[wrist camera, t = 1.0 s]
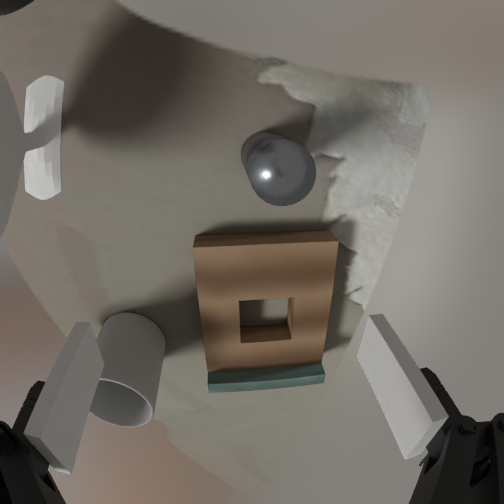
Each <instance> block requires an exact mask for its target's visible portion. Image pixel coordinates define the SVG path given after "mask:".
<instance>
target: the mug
mask: <svg viewBox="0 0 504 504" xmlns="http://www.w3.org/2000/svg"><path fill="white" fill-rule="evenodd" d="M96 342H97V345H98V347H99V350H100V353H101V356H102V359H103V362H104V364H105V365H104V368H103V371H102V373H101V376H100V379H99V382H98V385H97V388H96V391H95V394H94V397H93V400H92V404H91V407H90V410H89V412H90V413H91V414H92V415H94V416H95V417H97V418H98V419H100V420H102V421H104V422H107V423H109V424H113V425H116V426H122V427H138V426H142V425H144V424H146V423H148V422H149V421H150V420H151V419H152V417H153V415H154V411H155V405H156V399H157V392H158V386H159V380H160V374H161V369H162V363H163V359H164V354H165V348H166V342H165V337H164V335H163V333H162V331H161V330H160V328H159V327H158V326H157V325H156V324H155V323H154V322H152V321H151V320H150V319H148V318H146V317H144V316H142V315H139V314H135V313H128V312H124V313H118V314H115V315H113V316H111V317H109V318H108V319H107V320H106V321H105V323H104V324H103V326H102V328H101V331H100V333H99V335H98V337H97V340H96Z"/></svg>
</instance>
